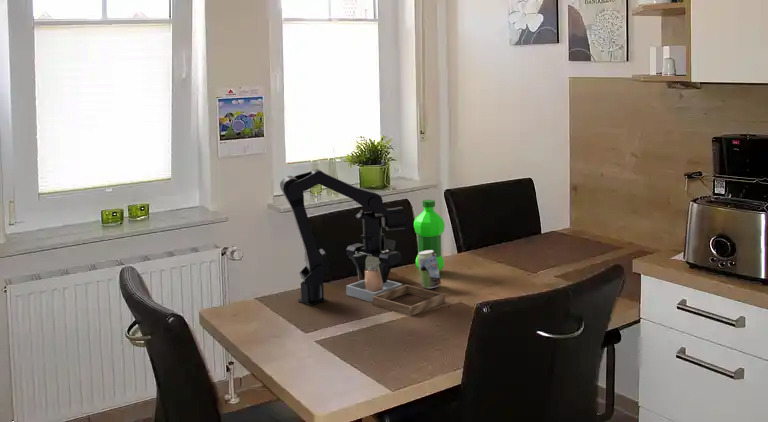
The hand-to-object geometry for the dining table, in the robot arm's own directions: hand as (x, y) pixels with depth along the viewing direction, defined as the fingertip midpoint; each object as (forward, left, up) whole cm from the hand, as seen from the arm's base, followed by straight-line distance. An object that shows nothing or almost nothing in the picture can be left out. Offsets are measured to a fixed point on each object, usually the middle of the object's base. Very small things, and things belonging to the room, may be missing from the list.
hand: (373, 280), depth 250 cm
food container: (+12, +12, -5) cm, 18 cm away
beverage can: (+16, -9, -5) cm, 19 cm away
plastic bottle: (+28, +1, -5) cm, 28 cm away
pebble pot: (0, 0, -4) cm, 4 cm away
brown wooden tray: (0, -15, -4) cm, 15 cm away
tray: (0, 0, -4) cm, 4 cm away
